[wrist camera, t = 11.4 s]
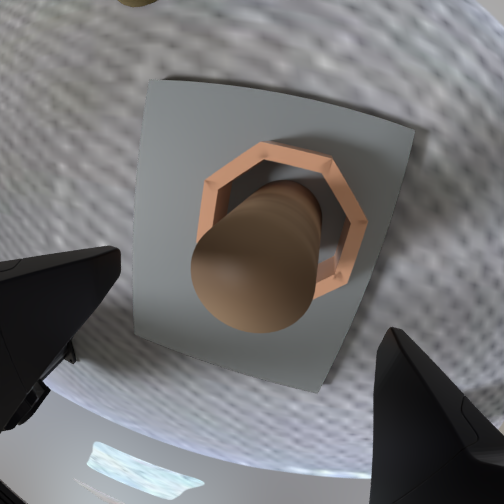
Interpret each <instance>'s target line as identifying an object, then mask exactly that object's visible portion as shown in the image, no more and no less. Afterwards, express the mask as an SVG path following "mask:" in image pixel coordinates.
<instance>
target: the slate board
mask: <svg viewBox="0 0 504 504" xmlns="http://www.w3.org/2000/svg"><path fill="white" fill-rule="evenodd" d="M414 134H415V130H413V129H411V128H408V127H405V126H402V125H399V124H397V123H394V122H391V121H388V120H385V119H382V118H378V117H375V116H372V115H369V114H365V113H362V112H359V111H355V110H352V109H348V108H344V107H340V106H337V105H333V104H329V103H325V102H321V101H316V100H312V99H307V98H303V97H298V96H293V95H288V94H283V93H277V92H272V91H266V90H260V89H253V88H247V87H239V86H232V85H223V84H214V83H203V82H191V81H175V80H149V84H148V90H147V95H146V102H145V108H144V115H143V121H142V129H141V137H140V145H139V154H138V164H137V174H136V187H135V201H134V220H133V254H132V284H133V318H134V335H137V336H139V337H141V338H144V339H146V340H149V341H151V342H154V343H156V344H159V345H161V346H164V347H166V348H169V349H172V350H174V351H177V352H180V353H182V354H185V355H188V356H191V357H193V358H196V359H199V360H202V361H205V362H208V363H211V364H214V365H217V366H220V367H223V368H226V369H229V370H232V371H235V372H238V373H242V374H245V375H248V376H252V377H255V378H259V379H262V380H266V381H269V382H273V383H277V384H280V385H284V386H288V387H292V388H296V389H300V390H304V391H308V392H313V393H317V394H318V392H319V390H320V388H321V386H322V384H323V382H324V380H325V378H326V376H327V374H328V372H329V370H330V368H331V366H332V364H333V362H334V360H335V358H336V356H337V354H338V352H339V350H340V347H341V345H342V343H343V341H344V339H345V337H346V334H347V332H348V330H349V328H350V326H351V323H352V321H353V319H354V316H355V314H356V312H357V309H358V307H359V305H360V302H361V300H362V297H363V295H364V292H365V290H366V288H367V285H368V282H369V280H370V277H371V275H372V272H373V269H374V267H375V264H376V261H377V259H378V256H379V253H380V250H381V248H382V245H383V242H384V239H385V236H386V233H387V230H388V227H389V224H390V221H391V218H392V215H393V212H394V208H395V205H396V202H397V199H398V195H399V192H400V188H401V185H402V181H403V178H404V174H405V170H406V167H407V163H408V159H409V155H410V151H411V147H412V143H413V139H414ZM261 141H274V142H278V143H283V144H287V145H292V146H296V147H300V148H304V149H309V150H313V151H317V152H320V153H324V154H328V155H332V157H333V159H334V160H335V162H336V164H337V165H338V167H339V169H340V170H341V172H342V174H343V176H344V177H345V179H346V181H347V182H348V184H349V186H350V188H351V189H352V191H353V193H354V195H355V197H356V198H357V200H358V202H359V204H360V206H361V207H362V209H363V211H364V213H365V215H366V218H367V220H368V224H367V227H366V230H365V233H364V236H363V239H362V242H361V245H360V248H359V251H358V254H357V257H356V260H355V263H354V266H353V269H352V272H351V274H350V277H349V280H348V283H347V284H345V285H343V286H341V287H339V288H337V289H335V290H332V291H330V292H328V293H326V294H324V295H322V296H320V297H318V298H315V299H313V300H312V302H311V305H310V306H309V308H308V310H307V311H306V313H305V314H304V315H303V316H302V317H301V318H300V319H299V320H298V321H297V322H295V323H294V324H292V325H291V326H289V327H287V328H285V329H282V330H279V331H276V332H271V333H250V332H245V331H241V330H238V329H235V328H232V327H230V326H228V325H226V324H225V323H223V322H221V321H220V320H218V319H217V318H216V317H214V316H213V315H212V314H211V313H210V312H209V311H208V310H207V309H206V308H205V306H204V305H203V304H202V302H201V301H200V299H199V298H198V296H197V294H196V292H195V289H194V286H193V283H192V279H191V259H192V255H193V252H194V249H195V247H196V245H197V243H196V238H197V230H198V223H199V215H200V208H201V200H202V193H203V186H204V180H205V179H207V178H208V177H209V176H211V175H212V174H214V173H215V172H217V171H218V170H219V169H221V168H222V167H224V166H225V165H226V164H228V163H229V162H231V161H232V160H234V159H235V158H237V157H238V156H240V155H241V154H243V153H244V152H246V151H247V150H249V149H250V148H251V147H253V146H255V145H256V144H258V143H259V142H261ZM277 180H289V181H294V182H297V183H299V184H301V185H303V186H305V187H306V188H307V189H309V190H310V191H311V192H312V193H313V194H314V196H315V197H316V199H317V200H318V202H319V205H320V207H321V212H322V228H321V239H320V250H319V260H318V264H319V263H321V262H323V261H325V260H327V259H329V258H331V257H333V256H334V255H335V252H336V248H337V245H338V242H339V239H340V235H341V232H342V229H343V225H344V222H345V219H346V214H345V212H344V210H343V208H342V207H341V205H340V203H339V201H338V200H337V198H336V196H335V195H334V193H333V191H332V189H331V188H330V186H329V184H328V183H327V181H326V179H325V178H324V176H323V175H322V173H319V172H315V171H311V170H307V169H303V168H299V167H295V166H291V165H287V164H283V163H278V162H274V161H270V160H265V161H263V162H262V163H260V164H259V165H257V166H256V167H254V168H252V169H251V170H249V171H248V172H246V173H245V174H243V175H242V176H240V177H239V178H237V179H236V180H234V181H233V182H232V187H231V192H230V198H229V204H228V210H227V214H229V213H230V212H231V211H232V210H233V209H235V208H236V207H237V206H238V205H239V204H241V203H242V202H243V201H244V200H246V199H247V198H248V197H249V196H251V195H252V194H253V193H254V192H255V191H257V190H258V189H259V188H261V187H262V186H263V185H265V184H267V183H269V182H272V181H277Z"/></svg>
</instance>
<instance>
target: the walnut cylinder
mask: <svg viewBox="0 0 504 504" xmlns="http://www.w3.org/2000/svg"><path fill="white" fill-rule="evenodd" d="M321 228H322V212H321V207H320V205H319V202H318V200H317V199H316V197H315V196H314V194H313V193H312V192H311V191H310V190H309V189H307V188H306V187H305V186H303V185H301V184H299V183H297V182H294V181H289V180H277V181H272V182H269V183H267V184H265V185H263V186H262V187H261V188H259V189H258V190H257V191H255V192H254V193H253V194H252V195H251V196H249V197H248V198H247V199H246V200H244V201H243V202H242V203H241V204H239V205H238V206H237V207H236V208H235V209H233V210H232V211H231V212H230V213H229V214H227V215H226V216H225V217H224V218H223V219H221V220H220V221H219V222H218V223H217V224H215V225H214V226H213V227H212V228H211V229H209V230H208V231H207V232H206V233H205V234H204V235H203V236H202V237H201V239H200V240H199V242H198V243H197V245H196V247H195V249H194V252H193V255H192V259H191V279H192V283H193V286H194V289H195V292H196V294H197V296H198V298H199V299H200V301H201V302H202V304H203V305H204V306H205V308H206V309H207V310H208V311H209V312H210V313H211V314H212V315H213V316H214V317H216V318H217V319H218V320H220V321H221V322H223V323H225V324H226V325H228V326H230V327H232V328H235V329H238V330H241V331H245V332H250V333H271V332H276V331H279V330H282V329H285V328H287V327H289V326H291V325H292V324H294V323H295V322H297V321H298V320H299V319H300V318H301V317H302V316H303V315H304V314H305V313H306V311H307V310H308V308H309V306H310V305H311V302H312V300H313V297H314V293H315V287H316V278H317V269H318V260H319V250H320V239H321Z"/></svg>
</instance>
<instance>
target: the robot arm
mask: <svg viewBox="0 0 504 504" xmlns="http://www.w3.org/2000/svg"><path fill="white" fill-rule="evenodd" d="M120 273H121V252H120V250H119V249H118V248H116V247H113V246H102V247H95V248H88V249H81V250H74V251H68V252H61V253H54V254H48V255H41V256H35V257H29V258H23V259H16V260H9V261H3V262H0V433H1V432H2V431H6V430H11V429H13V428H15V426H16V425H17V424H18V425H21V424H23V423H24V422H26V421H27V420H28V419H29V418H30V417H31V416H32V415H33V414H34V413H35V412H36V410H37V409H38V407H39V406H40V404H41V403H42V402H43V400H44V399H45V398H46V396H47V395H48V394H49V392H50V391H51V390H50V389H49V387H48V386H46V385H45V384H44V382H43V380H44V379H45V378H46V377H47V376H48V375H49V374H50V373H51V372H52V371H53V370H54V369H55V368H56V367H57V366H58V365H59V364H60V363H61V362H62V361H63V360H64V359H65V360H67V361H68V362H70V363H72V364H74V363H75V362H76V359H75V355H74V351H73V347H72V343H71V338H72V337H73V335H74V334H75V333H76V332H77V331H78V329H79V328H80V327H81V326H82V325H83V324H84V322H85V321H86V320H87V319H88V318H89V317H90V315H91V314H92V313H93V312H94V311H95V309H96V308H97V307H98V306H99V304H100V303H101V302H102V300H103V299H104V297H105V296H106V294H107V293H108V292H109V290H110V289H111V287H112V286H113V285H114V283H115V282H116V280H117V279H118V278H119V276H120ZM0 504H28V503H26V502H25V501H24V500H23V499H22V498H20V497H19V496H18V495H17V494H16V493H15V492H14V491H12V490H11V489H10V488H9V487H8V486H7V485H6V484H5V483H4V482H3V481H2V480H0ZM369 504H504V435H503V434H502V433H501V432H500V431H499V430H498V429H497V428H496V427H495V426H494V425H493V424H492V423H491V422H490V421H489V420H488V419H487V418H486V417H485V416H484V415H483V414H482V413H481V412H480V411H479V410H478V409H477V408H476V407H475V406H474V405H473V404H472V403H471V402H470V400H469V399H468V398H467V397H466V396H464V394H463V393H462V392H461V391H460V390H459V388H458V387H457V386H456V385H455V384H454V383H453V382H452V381H451V380H450V379H449V378H448V377H447V376H446V374H445V373H444V372H443V371H442V370H441V369H440V368H439V367H438V366H437V365H436V364H435V363H434V362H433V361H432V360H431V359H430V358H429V357H428V356H427V354H426V353H425V352H424V351H423V350H422V349H421V348H420V347H419V346H418V345H417V344H416V343H415V342H414V341H413V340H412V339H411V338H410V337H409V336H408V335H407V334H406V333H405V332H404V331H403V330H402V329H398V328H394V327H390V328H389V329H388V330H387V332H386V334H385V336H384V338H383V340H382V342H381V344H380V345H379V347H378V350H377V357H376V370H375V382H374V394H373V458H372V476H371V490H370V501H369Z"/></svg>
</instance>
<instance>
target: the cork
mask: <svg viewBox="0 0 504 504" xmlns="http://www.w3.org/2000/svg"><path fill="white" fill-rule="evenodd" d="M118 1H119V2H121V3H122V4H124V5H126V6H130V7H140V6H145V5H148V4H151V3H153V2H155V1H157V0H118Z"/></svg>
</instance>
